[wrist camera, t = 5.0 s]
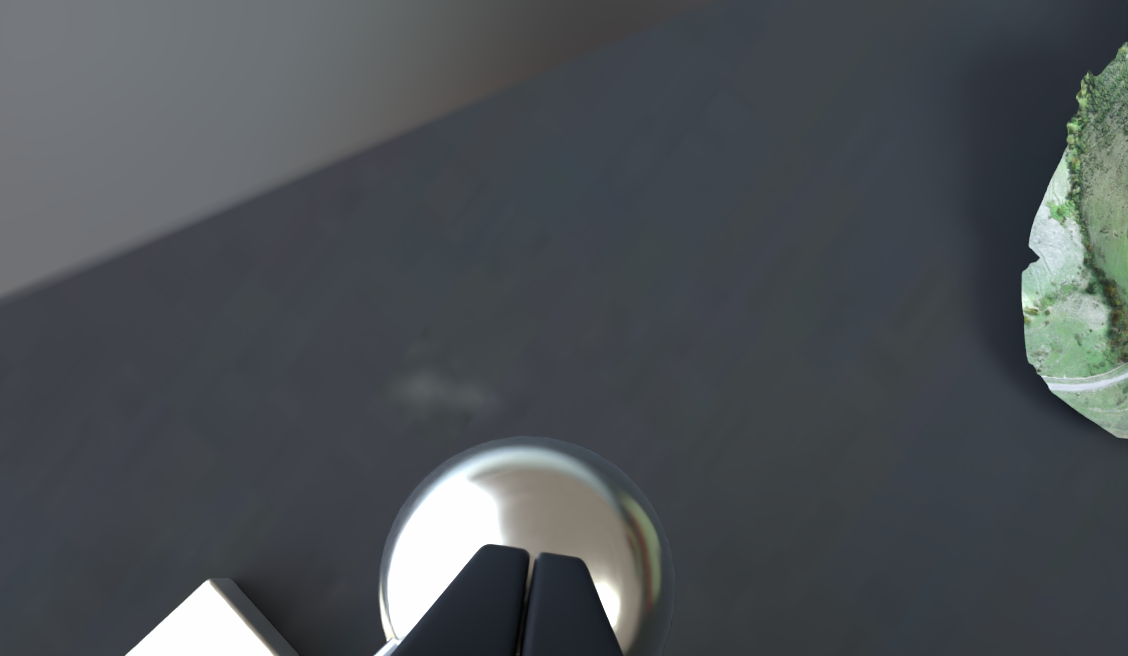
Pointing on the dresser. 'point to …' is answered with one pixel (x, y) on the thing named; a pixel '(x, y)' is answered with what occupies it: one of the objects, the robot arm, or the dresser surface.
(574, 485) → the lever
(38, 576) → the dresser surface
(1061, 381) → the terrain
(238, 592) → the bracket
